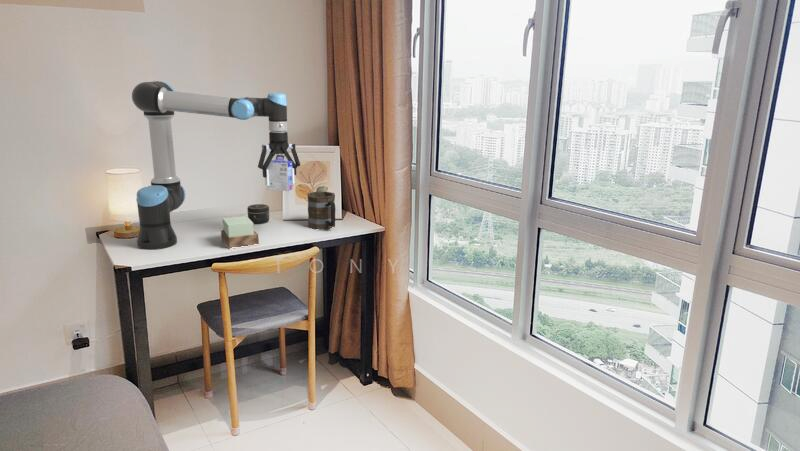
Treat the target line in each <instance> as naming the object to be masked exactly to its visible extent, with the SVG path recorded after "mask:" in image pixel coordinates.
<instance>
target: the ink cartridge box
mask: <svg viewBox="0 0 800 451" xmlns="http://www.w3.org/2000/svg"><path fill="white" fill-rule="evenodd" d="M280 157H281V158H280ZM285 157H286V156H285V155H284V154H276V155H275V160H274V159H272V160H271V162H270V164H269V166H268V168H267V170H269V186H267V185H266V190H269V191H279V192H280V191H281V192H289V191H292V190H293V189H294V184H293V171H292V161H288V160H285Z"/></svg>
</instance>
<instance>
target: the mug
mask: <svg viewBox="0 0 800 451" xmlns="http://www.w3.org/2000/svg"><path fill="white" fill-rule="evenodd" d="M335 199H336V194H335V192H330V191H312V192H309V193H307V215H308V216H307V218H308V221H307V222H308V223H307V227H308V229H311V228H312V230H316V229H323V230H329V229H328V228H331V229H333V228H332V227H334V228H336V227H335V226H336V208H337V207H336V204H335V202H336V201H335Z"/></svg>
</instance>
